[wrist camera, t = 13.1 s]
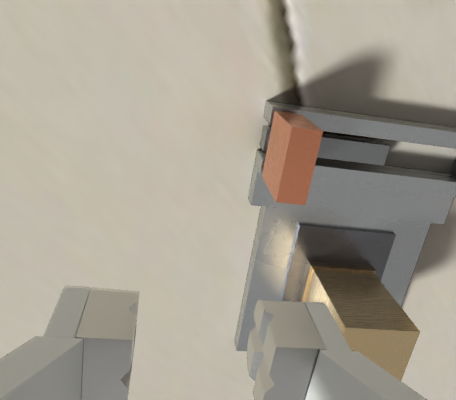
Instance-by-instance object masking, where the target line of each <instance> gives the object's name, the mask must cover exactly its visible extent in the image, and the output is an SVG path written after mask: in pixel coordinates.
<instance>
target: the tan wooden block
mask: <svg viewBox="0 0 456 400" xmlns="http://www.w3.org/2000/svg"><path fill="white" fill-rule="evenodd" d="M375 274H376V270H375V268H374V267H373V266H372V265H364V264H352V263H339V262H327V261H314V260H308V261H307V265H306V269H305V273H304V277H303V281H302V285H301V289H300V292H299V296H298V300H297V302H323V303H324V304H326V305H327V307H328V309H329V311H330V312H331V314H332V316H333V318H334V320H335V322H336V323H337V325H338V327H339V329H340V331H341V333H342V334H343V336H344V338H345V340H346V342H347V344H348V345H349V347H350V349H351V351H356V352H359V353H361V354H362V355H364V356H365V357H367V358H368V359H370V360H371V361H372V362H374V363H375V364H377V365H378V366H380V367H381V368H382V369H384V370H385V371H387V372H388V373H390V374H391V375H393V376H394V377H395V378H397V379H398V380H400V381H401V379H402V377H403V374H404V372H405V369H406V367H407V364H408V361H409V359H410V356H411V354H412V351H413V349H414V346H415V344H416V341H417V338H418V336H419V333H420V331H419V330H418V329H417V327H416V326H415V325H414V323H413V322H412V321H411V320H410V318H409V317H408V316H407V314H406V313H405V312H404V311H403V309H402V308H401V307H400V305H399V304H398V303H397V302H396V300H395V299H394V298H393V296H392V295H391V294H390V293H389V291H388V290H387V289H386V288H385V286H384V285H383V284H382V282H381V281H380V280H379V279H378V277H377V276H376V275H375Z"/></svg>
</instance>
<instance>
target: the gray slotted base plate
mask: <svg viewBox="0 0 456 400" xmlns="http://www.w3.org/2000/svg"><path fill="white" fill-rule="evenodd" d="M275 111H281V112H288V113H295V114H302V115H303V116H304V117H306V118H307V119H308V120H310V121H311V122H312V123H313V124H315V125H316V126H317V127H319V128H320V129H321V130H323V131H327V132H335V133H342V134H350V135H357V136H365V137H373V138H380V139H388V140H395V141H403V142H410V143H418V144H425V145H433V146H440V147H448V148H455V149H456V128H454V127H447V126H440V125H433V124H426V123H419V122H412V121H405V120H398V119H391V118H384V117H376V116H369V115H362V114H355V113H348V112H341V111H334V110H327V109H320V108H313V107H306V106H299V105H292V104H285V103H277V102H270V101H266V105H265V110H264V116H263V117H264V118H265V119H266V120H267V121H268V123H269V124H272V122H273V117H274V112H275ZM266 153H267V151H260V150H257V153H256V159H255V164H254V169H253V175H252V180H251V186H250V191H249V196H248V199H249V201H250V204H251V205H255V206H261V209H260V214H259V219H258V224H257V229H256V234H255V239H254V244H253V249H252V254H251V259H250V264H249V269H248V274H247V279H246V284H245V289H244V295H243V300H242V305H241V310H240V315H239V320H238V325H237V330H236V335H235V346H236V351H247V344H248V339H249V333H250V331H251V330H252V329H253V328H255V327H256V324H255V320H254V316H253V315H254V310H255V306H256V304H257V301H258V300H269V301H290V302H297V300H298V296H299V292H300V289H301V285H302V281H303V277H304V273H305V269H306V265H307V261H308V260H314V261H327V262H339V263H352V264H364V265H372V266H373V267H374V268H375V270H376V274H375V275H376V276H377V277H378V279H379V280H380V281H381V282H382V284H383V285H384V286H385V288H386V289H387V290H388V291H389V293H390V294H391V295H392V296H393V298H394V299H395V300H396V302H397V303H398V304H399V305H400V307H401V305H402V302H403V299H404V296H405V293H406V291H407V288H408V285H409V282H410V280H411V277H412V274H413V271H414V269H415V266H416V263H417V260H418V258H419V255H420V252H421V249H422V247H423V244H424V241H425V238H426V236H427V233H428V230H429V227H430V225H431V223H434V224H444V223H445V220H446V217H447V215H448V212H449V209H450V207H451V204H452V201H453V199H454V197H456V160H455V162H454V165H453V168H452V171H451V173H450V174H449V173H440V172H432V171H424V170H416V169H408V168H399V167H391V166H383V165H375V164H367V163H358V162H350V161H342V160H334V159H326V158H317V159H316V163H315V168H314V172H313V176H312V180H311V184H310V188H309V192H308V197H307V201H306V205H297V204H287V203H278V202H276V201H275V200H274V198H273V196H272V194H271V192H270V190H269V189H268V187H267V185H266V183H265V181H264V179H263V178H262V173H263V168H264V163H265V158H266Z"/></svg>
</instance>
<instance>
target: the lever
mask: <svg viewBox="0 0 456 400" xmlns="http://www.w3.org/2000/svg"><path fill="white" fill-rule="evenodd" d="M260 147H261V148H262V150H263V151H267V153H266V158H265V163H264V168H263V173H262V178H263V179H264V181H265V183H266V185H267V187H268V189H269V190H270V192H271V194H272V196H273V198H274V200H275V201H276V202H278V203H287V204H297V205H306V201H307V197H308V192H309V188H310V184H311V180H312V176H313V172H314V168H315V163H316V159H317V157H318V158H326V159H334V160H342V161H351V162H359V163H367V164H375V165H383V166H384V164H385V161H386V158H387V154H388V151H389V148H390V146H389V145H387V144H386V143H384V142H382V141H377V140H369V139H362V138H354V137H347V136H339V135H332V134H324V133H323V130H321V129H320V128H319V127H317V126H316V125H315V124H313V123H312V122H311V121H310V120H308V119H307V118H306V117H304V116H303V115H302V114H295V113H288V112H281V111H275V112H274V117H273V122H272V127H271V126H263V131H262V136H261V141H260Z"/></svg>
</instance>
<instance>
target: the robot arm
mask: <svg viewBox="0 0 456 400" xmlns="http://www.w3.org/2000/svg"><path fill="white" fill-rule="evenodd" d="M138 302H139V291H127V290H116V289H104V288H93V287H92V288H90V287H79V286H66V287H65V288H64V289H63V291H62V293H61V295H60V298H59V300H58V303H57V305H56V307H55V310H54V312H53V315H52V317H51V319H50V322H49V324H48V327H47V329H46V331H45V334H44V336H43V337H40V336H35V337H34V338H32V339H31V340H29V341H27V342H26V343H24V344H23V345H21V346H19V347H18V348H16V349H15V350H13V351H12V352H10V353H8V354H7V355H5V356H4V357H2V358H1V359H0V400H128V394H129V386H130V376H131V370H132V361H133V352H134V343H135V334H136V322H137V313H138ZM253 316H254V320H255V324H256V327H255V328H253V329H252V330H251V331H250V333H249V339H248V344H247V366H248V371H249V376H250V377H251V378H252V379H253V380H254V381H255V385H254V389H253V396H254V400H427V399H426V398H424V397H423V396H421V395H420V394H418V393H417V392H415V391H414V390H413V389H411V388H410V387H408V386H407V385H405V384H404V383H403V382H401V381H400V380H398V379H397V378H395V377H394V376H393V375H391V374H390V373H388V372H387V371H385V370H384V369H382V368H381V367H380V366H378V365H377V364H375V363H374V362H372V361H371V360H370V359H368V358H367V357H365V356H364V355H362V354H361V353H359V352H356V351H351V349H350V347H349V345H348V344H347V342H346V340H345V338H344V336H343V334H342V333H341V331H340V329H339V327H338V325H337V323H336V322H335V320H334V318H333V316H332V314H331V312H330V311H329V309H328V307H327V305H326V304H324V303H323V302H290V301H269V300H258V301H257V304H256V306H255V310H254V315H253Z"/></svg>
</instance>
